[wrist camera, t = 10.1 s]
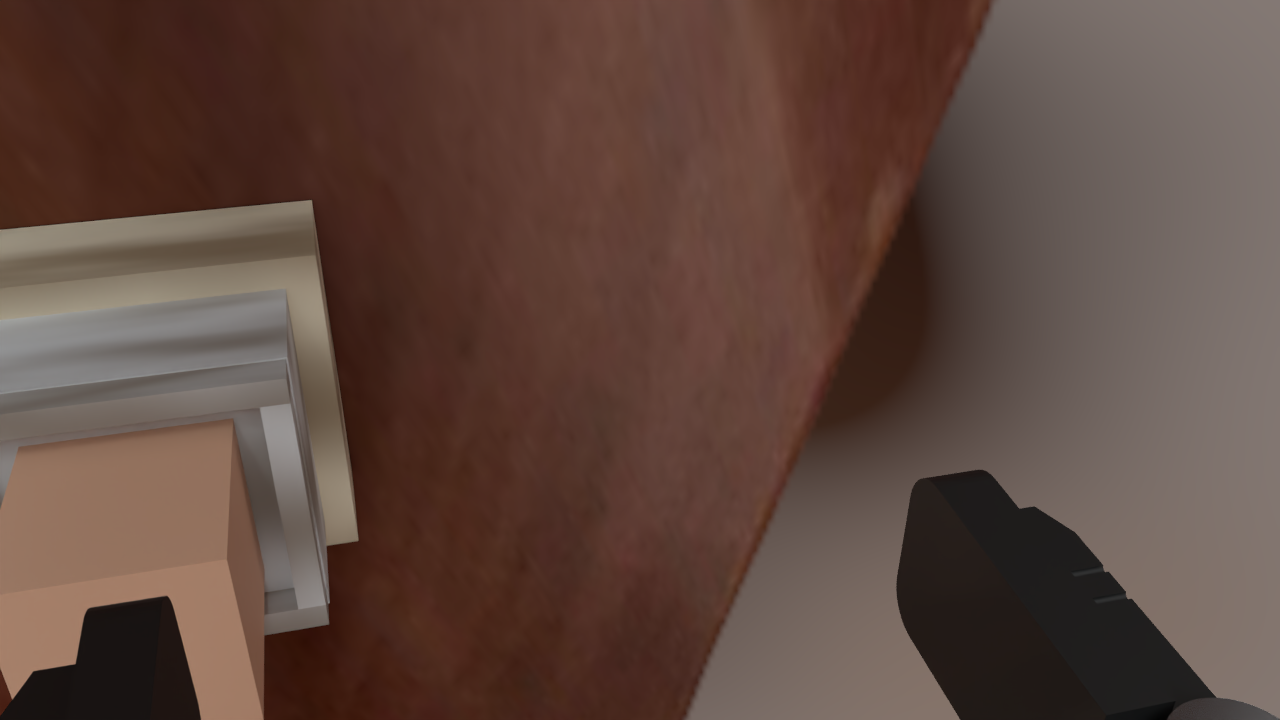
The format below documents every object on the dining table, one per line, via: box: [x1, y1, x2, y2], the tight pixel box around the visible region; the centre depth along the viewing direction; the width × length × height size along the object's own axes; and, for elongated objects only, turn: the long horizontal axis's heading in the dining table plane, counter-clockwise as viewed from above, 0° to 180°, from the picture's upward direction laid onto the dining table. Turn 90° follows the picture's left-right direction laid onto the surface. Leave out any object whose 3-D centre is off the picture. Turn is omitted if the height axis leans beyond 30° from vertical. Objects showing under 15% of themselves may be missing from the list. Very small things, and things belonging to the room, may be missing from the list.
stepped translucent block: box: [0, 200, 359, 635], centre depth 37 cm, size 11×11×9 cm
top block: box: [0, 418, 265, 720], centre depth 32 cm, size 6×6×6 cm
